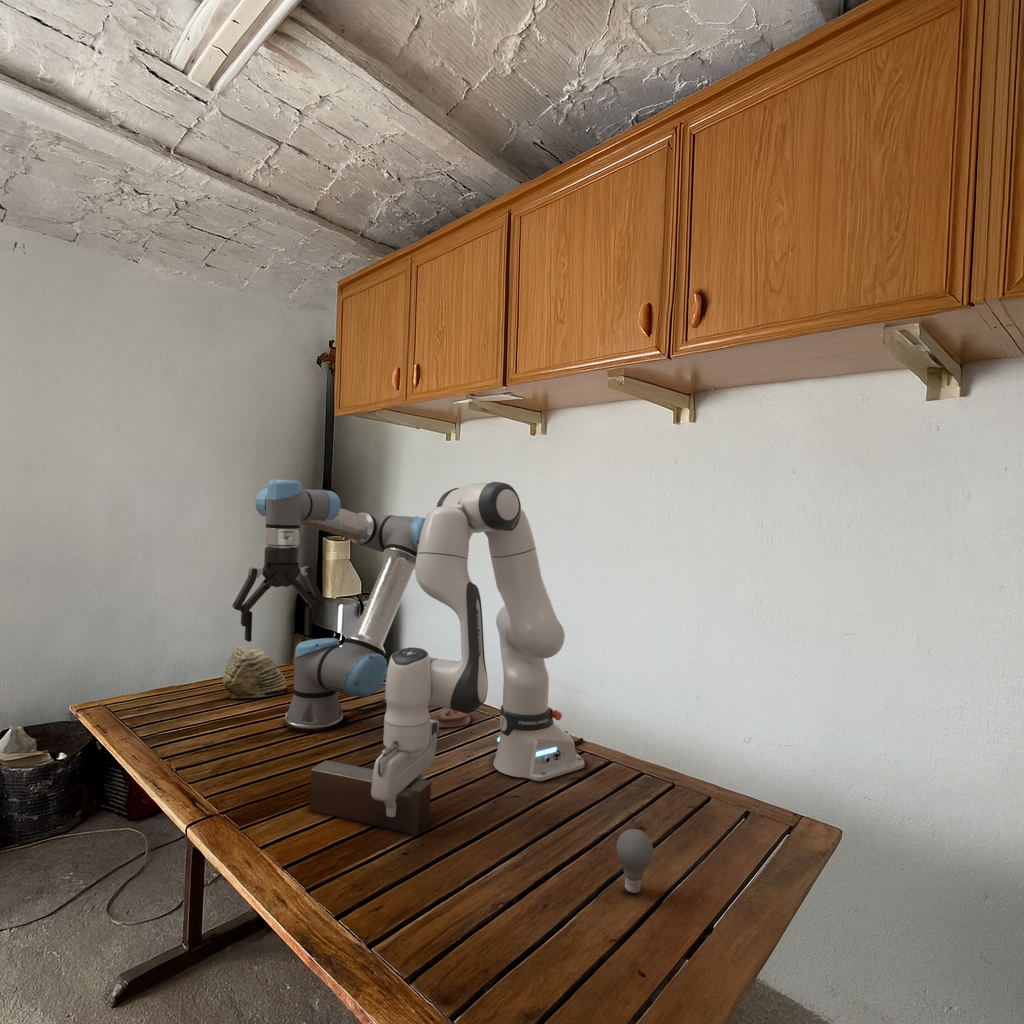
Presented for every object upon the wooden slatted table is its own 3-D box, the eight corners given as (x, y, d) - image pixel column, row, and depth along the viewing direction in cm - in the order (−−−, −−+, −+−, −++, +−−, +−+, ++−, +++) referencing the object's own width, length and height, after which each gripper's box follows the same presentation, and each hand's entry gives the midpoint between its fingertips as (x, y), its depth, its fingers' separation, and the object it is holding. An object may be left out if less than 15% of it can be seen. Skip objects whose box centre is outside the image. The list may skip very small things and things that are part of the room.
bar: (309, 810, 128) (310, 769, 128) (324, 800, 132) (325, 760, 132) (418, 835, 120) (419, 791, 120) (429, 823, 125) (431, 780, 125)
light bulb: (610, 879, 108) (613, 822, 108) (644, 879, 109) (647, 822, 109) (619, 902, 102) (622, 840, 102) (655, 901, 103) (658, 840, 103)
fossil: (218, 695, 195) (220, 647, 195) (278, 685, 208) (279, 640, 207) (228, 703, 189) (230, 653, 188) (289, 692, 201) (290, 645, 201)
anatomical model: (418, 710, 178) (431, 698, 189) (418, 724, 178) (431, 711, 189) (464, 716, 175) (474, 703, 186) (463, 730, 175) (474, 716, 186)
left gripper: (228, 548, 136) (224, 646, 137) (340, 547, 151) (336, 635, 151) (220, 545, 142) (217, 639, 143) (328, 544, 157) (325, 629, 158)
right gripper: (395, 756, 113) (392, 833, 113) (442, 719, 132) (440, 785, 132) (364, 750, 115) (361, 826, 115) (415, 715, 134) (412, 780, 134)
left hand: (278, 637), depth 147 cm, fingers open, 13 cm apart
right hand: (403, 803), depth 124 cm, fingers open, 8 cm apart
